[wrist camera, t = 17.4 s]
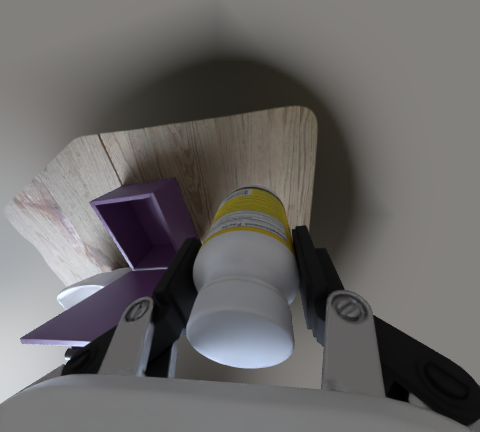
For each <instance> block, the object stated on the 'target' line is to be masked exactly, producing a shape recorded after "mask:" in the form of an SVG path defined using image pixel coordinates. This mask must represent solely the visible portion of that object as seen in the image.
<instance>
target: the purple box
mask: <svg viewBox="0 0 480 432" xmlns="http://www.w3.org/2000/svg"><path fill="white" fill-rule="evenodd" d="M89 203H90V204H91V206H92V207H93V209H94V211H95V212H96V214H97V215H98V217H99V218H100V220H101V222H102V223H103V225H104V226H105V228H106V229H107V231H108V233H109V234H110V236H111V237H112V239H113V240H114V242H115V244H116V245H117V247H118V248H119V250H120V251H121V253H122V255H123V256H124V258H125V259H126V261H127V262H128V264H129V266H130V267H131V269H132V270H133V271H137V270H157V269H167V268H168V266H169V265H170V263H171V262H172V260H173V258H174V257H175V255H176V254H177V252H178V250H179V249H180V247H181V246H182V244H183V243H184V241H185V239H186V238H190V237H197V235H196V232H195V229H194V227H193V224H192V221H191V218H190V216H189V213H188V210H187V207H186V205H185V202H184V199H183V196H182V193H181V191H180V188H179V185H178V182H177V180H176V178H169V179H163V180H157V181H151V182H144V183H138V184H132V185H126V186H121V187H119V188H117V189H115V190H113V191H111V192H109V193H107V194H105V195H103V196H101V197H99V198H96V199H94V200H92V201H90V202H89ZM197 239H198V238H197Z"/></svg>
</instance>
